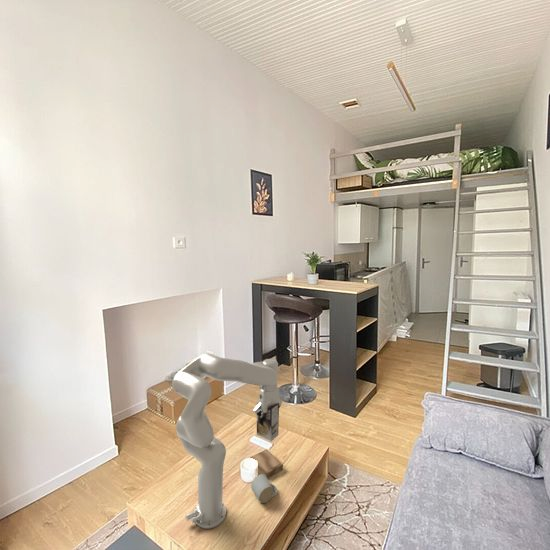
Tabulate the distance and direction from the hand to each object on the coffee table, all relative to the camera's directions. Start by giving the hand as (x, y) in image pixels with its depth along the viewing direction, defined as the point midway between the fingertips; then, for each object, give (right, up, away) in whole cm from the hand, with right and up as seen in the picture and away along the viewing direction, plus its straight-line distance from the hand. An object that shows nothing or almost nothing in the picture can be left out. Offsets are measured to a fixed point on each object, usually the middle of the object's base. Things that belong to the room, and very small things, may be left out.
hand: (267, 420), depth 147 cm
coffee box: (0, -7, +1) cm, 7 cm away
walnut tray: (-1, -23, +3) cm, 24 cm away
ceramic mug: (-1, -25, -14) cm, 29 cm away
